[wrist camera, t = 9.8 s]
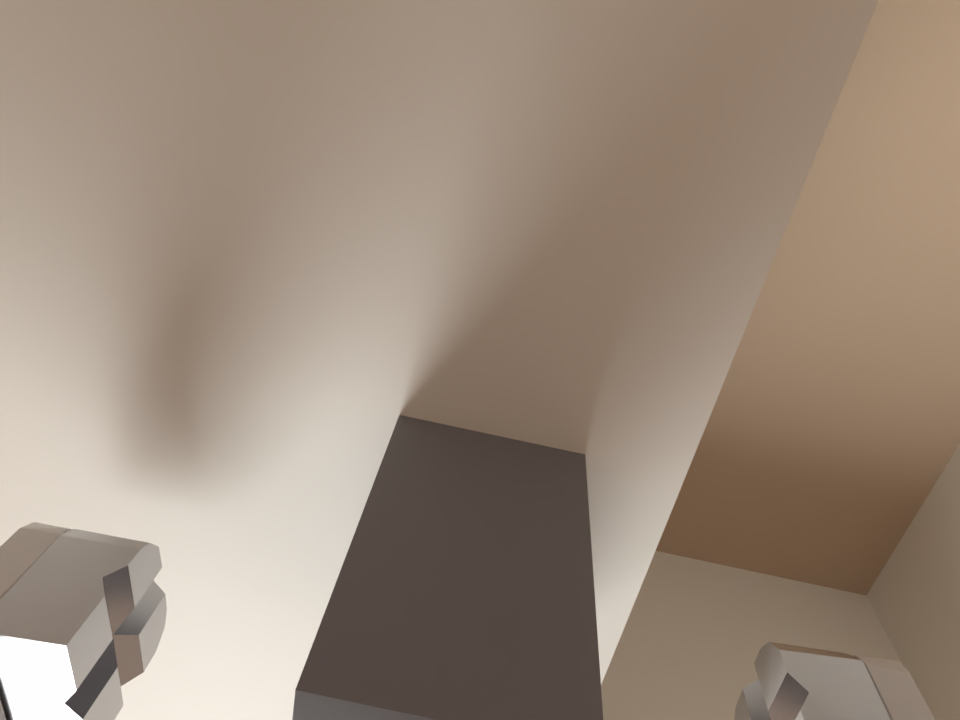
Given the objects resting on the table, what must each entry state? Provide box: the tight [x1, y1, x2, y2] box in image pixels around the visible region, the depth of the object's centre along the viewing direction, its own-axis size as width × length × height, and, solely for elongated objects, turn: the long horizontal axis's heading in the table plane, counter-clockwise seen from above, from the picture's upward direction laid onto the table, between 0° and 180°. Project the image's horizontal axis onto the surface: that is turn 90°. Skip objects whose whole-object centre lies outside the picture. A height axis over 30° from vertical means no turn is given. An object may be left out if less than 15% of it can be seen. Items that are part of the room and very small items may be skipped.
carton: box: [601, 0, 960, 720], centre depth 16 cm, size 20×18×12 cm
